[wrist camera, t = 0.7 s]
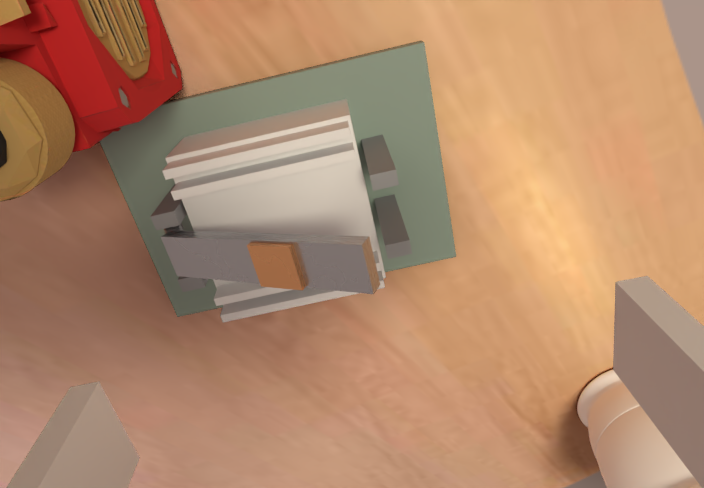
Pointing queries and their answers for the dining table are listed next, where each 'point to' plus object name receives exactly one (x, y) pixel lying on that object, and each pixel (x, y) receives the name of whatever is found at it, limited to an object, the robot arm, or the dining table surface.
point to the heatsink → (292, 171)
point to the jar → (628, 439)
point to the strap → (275, 259)
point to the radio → (75, 80)
